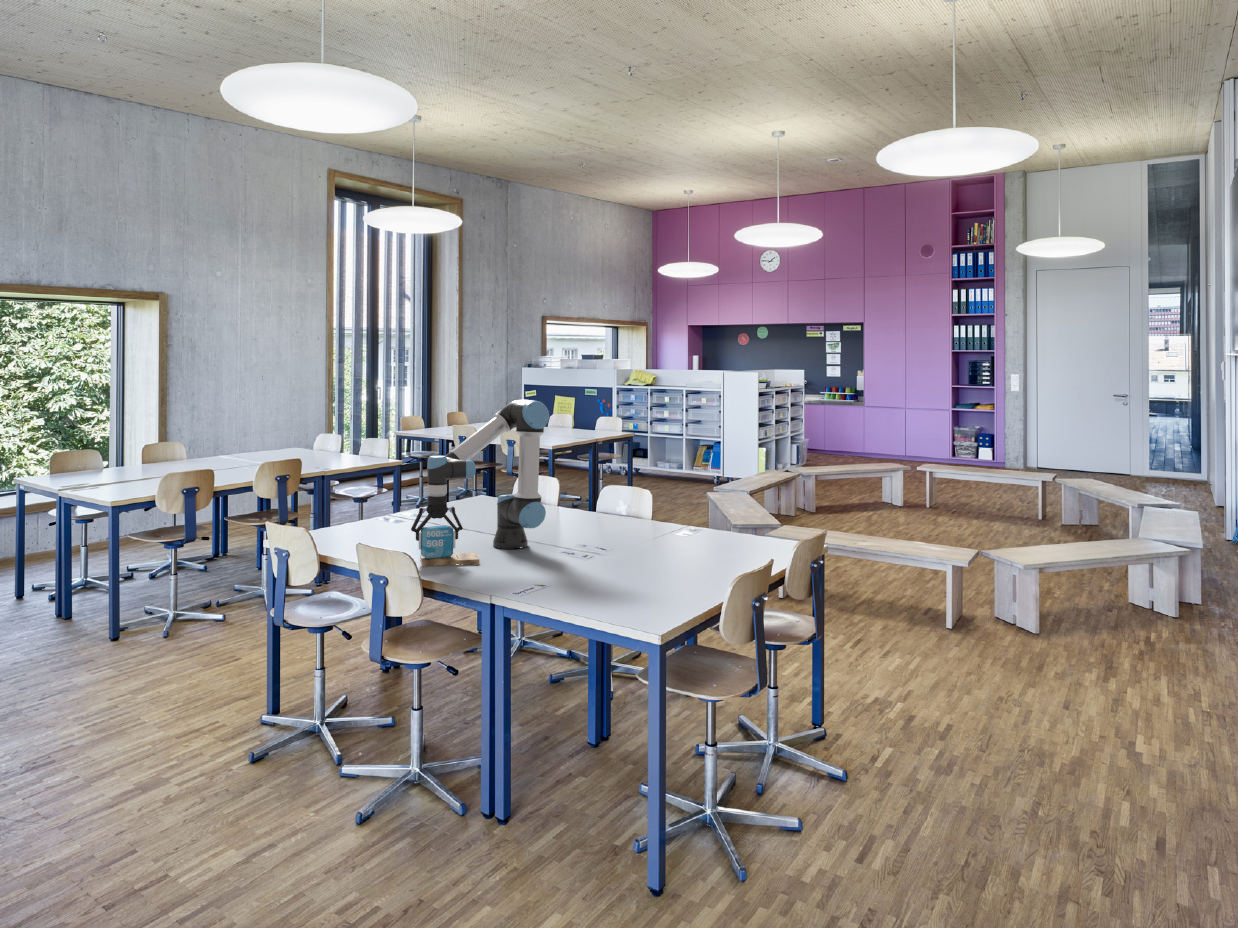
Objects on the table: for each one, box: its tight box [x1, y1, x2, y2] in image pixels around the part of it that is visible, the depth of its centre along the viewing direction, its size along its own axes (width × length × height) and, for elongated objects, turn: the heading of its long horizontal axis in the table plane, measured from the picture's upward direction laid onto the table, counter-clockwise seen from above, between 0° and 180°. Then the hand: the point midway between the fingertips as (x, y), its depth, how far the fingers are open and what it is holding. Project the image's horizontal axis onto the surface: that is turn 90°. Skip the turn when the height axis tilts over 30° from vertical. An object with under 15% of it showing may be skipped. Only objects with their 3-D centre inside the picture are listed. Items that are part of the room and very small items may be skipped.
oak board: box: [419, 552, 480, 567], centre depth 333 cm, size 22×13×2 cm, turn 107°
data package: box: [420, 525, 454, 559], centre depth 331 cm, size 12×4×12 cm, turn 123°
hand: (437, 548), depth 331 cm, fingers closed on data package, 13 cm apart
